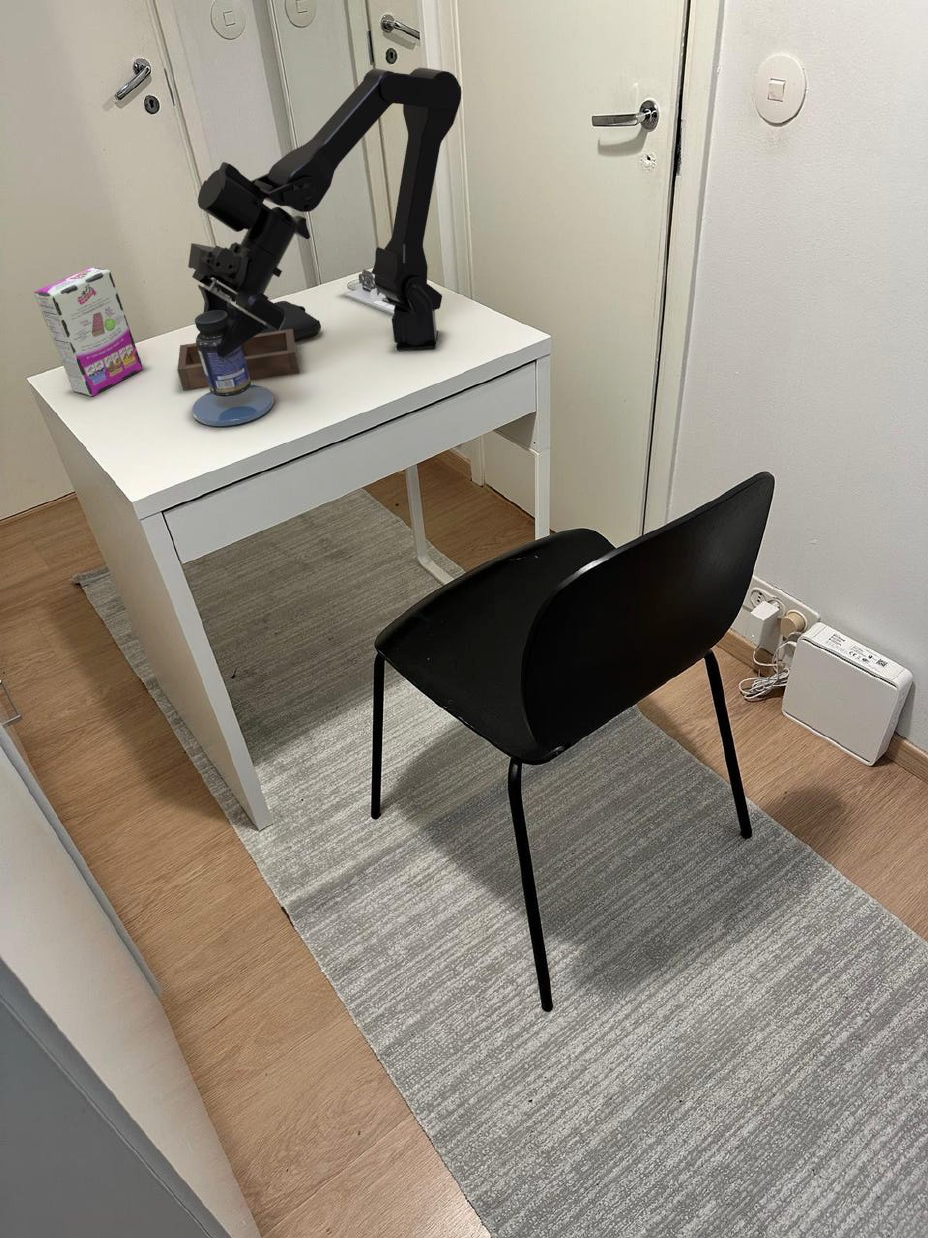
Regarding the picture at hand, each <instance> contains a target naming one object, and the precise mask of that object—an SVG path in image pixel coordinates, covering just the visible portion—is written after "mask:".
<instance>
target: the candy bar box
mask: <svg viewBox="0 0 928 1238" xmlns="http://www.w3.org/2000/svg"><path fill="white" fill-rule="evenodd" d="M33 294H34V296H35V299H36V301H37V303H38V307H39V309H40V311H41V313H42V316H43V319H44V321H45V324H46V326H47V329H48V331H49V333H50V336H51V338H52V341H53V343H54V346H55V349H56V351H57V354H58V355H59V358H60V361H61V364H62V365H63V368H64V371H65V374H66V376H67V378H68V381H69V383H70V386H71V388H72V390H73V392H74V393H77V394H81V395H85V396H89V397H94V396H96V395H98V394H100V393H102V392H104V391H105V390H107V389H109V388H111V387H113V386H114V385H116V384H118V383H120V382H122V381H123V380H126V379H127V378H130V377H131V376H133V375H134V374H136V373H138V372H140V371H142V370H143V369H144V366H143V364H142V360H141V358H140V355H139V352H138V349H137V346H136V343H135V340H134V337H133V335H132V332H131V328H130V326H129V323H128V321H127V316H126V314H125V311H124V308H123V306H122V303H121V298H120V296H119V294H118V290H117V288H116V284H115V281H114V278H113V275H112V273H111V270H110V269H105V268H99V267H95V266H90V267H88V268H86V269H83V270H80V271H78V272H75V273H74V274H72V275H69V276H67V277H65V278H63V279H60V280H58V281H56V282H53V283H51V284H49V285H47V286H44V287H42V288H40V289H37V290H36V291H34V292H33Z"/></svg>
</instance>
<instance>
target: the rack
mask: <svg viewBox="0 0 928 1238" xmlns="http://www.w3.org/2000/svg"><path fill="white" fill-rule="evenodd" d="M241 346H242V350H243V354H244V358H245V361H246V365H247V369H248V373H249V376H250V380H251V381H254V380H262V379H267V378H275V377H280V376H287V375H294V374H300V373H301V372H300V365H299V364H300V363H299V356H298V350H297V344H296V343H295V339H294V334H293V329H287V330H281V331H274V332H268V333H261V334H257V335H256V336H254V337H253V338H251V339H250V340H248V341H247V342H245V343H244V344H242V345H241ZM177 361H178V362H177V367H176V368H177V369H176V371H177V374H178V377H179V380H180V383H181V384H180V385H181V387H182V390H183V391H189V390H195V389H202V388H209V385H208V382H207V378H206V375H205V372H204V369H203V365H202V362H201V358H200V355H199V352H198V348H197V345H196V342H193V343H186V344H180V345H179V354H178V360H177Z"/></svg>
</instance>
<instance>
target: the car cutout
mask: <svg viewBox="0 0 928 1238" xmlns="http://www.w3.org/2000/svg"><path fill="white" fill-rule="evenodd" d="M361 271H362V272H361V273H359V274H358V283H357V284H356V285H355V288H354V290H351V291H348V292H347V293H344V297H345V298H348V299H351V300H354V301H356V302H358V303H360V304H364V305H366V306H369V307H371V308H374V309H376V310H378V311H382V312H385V313H387V314H389V315H391V316H393V314H394V308H395V305H394V304H392V303H389V302H388V301H387V299H386V297H385V295H383V294H382V293H381V292H379V290H378V288H377V287H376V286H375V282H374V274H372V273H371V272H372V271H370V270H367V269H362V270H361Z"/></svg>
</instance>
